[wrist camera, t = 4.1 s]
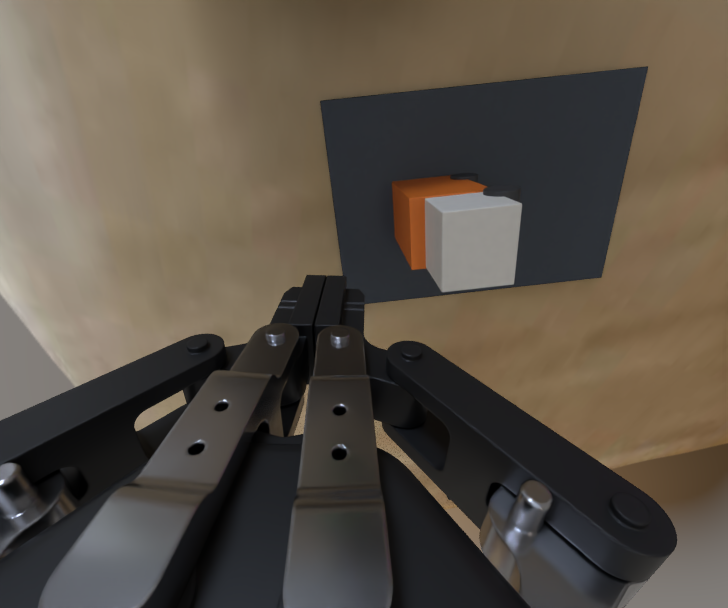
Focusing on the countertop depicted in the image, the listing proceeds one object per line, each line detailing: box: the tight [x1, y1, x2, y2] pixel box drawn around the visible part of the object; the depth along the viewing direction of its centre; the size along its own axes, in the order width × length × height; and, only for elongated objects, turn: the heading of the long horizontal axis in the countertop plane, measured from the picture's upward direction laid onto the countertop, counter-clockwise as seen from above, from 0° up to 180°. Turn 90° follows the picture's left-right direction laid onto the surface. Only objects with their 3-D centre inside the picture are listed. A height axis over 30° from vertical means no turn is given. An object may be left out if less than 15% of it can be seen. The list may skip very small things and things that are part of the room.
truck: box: [392, 173, 522, 292], centre depth 26 cm, size 7×5×13 cm
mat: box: [320, 67, 648, 304], centre depth 32 cm, size 26×18×1 cm
